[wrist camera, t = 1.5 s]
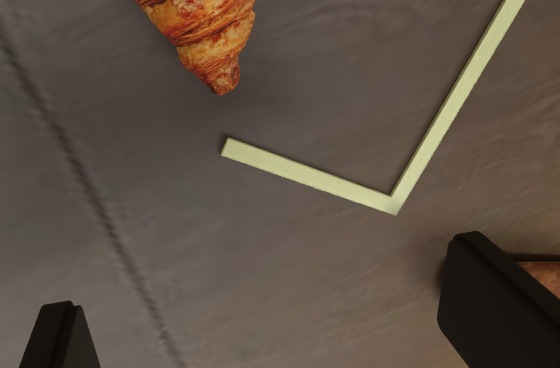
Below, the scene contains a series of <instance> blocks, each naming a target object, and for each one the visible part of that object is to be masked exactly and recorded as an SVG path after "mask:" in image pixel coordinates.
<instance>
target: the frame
mask: <svg viewBox="0 0 560 368" xmlns="http://www.w3.org/2000/svg"><path fill="white" fill-rule="evenodd" d="M524 1H525V0H503V1H502V3H501V4H500V6H499V8H498V9H497V11H496V13H495V15H494V16H493V18H492V20H491V22H490V23H489V25H488V27H487V28H486V30H485V32H484V34H483V35H482V37H481V39H480V40H479V42H478V44H477V46H476V47H475V49H474V51H473V52H472V54H471V56H470V58H469V59H468V61H467V63H466V64H465V66H464V68H463V70H462V71H461V73H460V75H459V77H458V78H457V80H456V82H455V83H454V85H453V87H452V89H451V90H450V92H449V94H448V95H447V97H446V99H445V101H444V102H443V104H442V106H441V107H440V109H439V111H438V113H437V114H436V116H435V118H434V119H433V121H432V123H431V125H430V126H429V128H428V130H427V132H426V133H425V135H424V137H423V138H422V140H421V142H420V144H419V145H418V147H417V149H416V150H415V152H414V154H413V156H412V157H411V159H410V161H409V162H408V164H407V166H406V168H405V169H404V171H403V173H402V174H401V176H400V178H399V180H398V181H397V183H396V185H395V187H394V188H393V190H392V192H391V193H390V195H387V194H384V193H382V192H379V191H376V190H373V189H371V188H368V187H365V186H362V185H360V184H357V183H354V182H351V181H349V180H346V179H343V178H340V177H338V176H335V175H332V174H329V173H327V172H324V171H321V170H318V169H316V168H313V167H310V166H307V165H305V164H302V163H299V162H296V161H294V160H291V159H288V158H285V157H283V156H280V155H277V154H274V153H272V152H269V151H266V150H263V149H261V148H258V147H255V146H252V145H250V144H247V143H244V142H241V141H239V140H236V139H233V138H230V137H227V140H226V142H225V144H224V147H223V149H222V151H221V155H222V156H225V157H228V158H230V159H233V160H236V161H239V162H242V163H245V164H248V165H251V166H254V167H256V168H259V169H262V170H265V171H268V172H271V173H274V174H277V175H280V176H283V177H285V178H288V179H291V180H294V181H297V182H300V183H303V184H306V185H309V186H311V187H314V188H317V189H320V190H323V191H326V192H329V193H332V194H335V195H338V196H340V197H343V198H346V199H349V200H352V201H355V202H358V203H361V204H364V205H366V206H369V207H372V208H375V209H378V210H381V211H384V212H387V213H390V214H393V215H395V216H396V215H397V213H398V212H399V210H400V208H401V207H402V205H403V203H404V202H405V200H406V198H407V197H408V195H409V193H410V191H411V190H412V188H413V186H414V185H415V183H416V181H417V180H418V178H419V176H420V175H421V173H422V171H423V170H424V168H425V166H426V165H427V163H428V161H429V160H430V158H431V156H432V155H433V153H434V151H435V150H436V148H437V146H438V145H439V143H440V141H441V140H442V138H443V136H444V135H445V133H446V131H447V130H448V128H449V126H450V125H451V123H452V121H453V120H454V118H455V116H456V114H457V113H458V111H459V109H460V108H461V106H462V104H463V103H464V101H465V99H466V98H467V96H468V94H469V93H470V91H471V89H472V88H473V86H474V84H475V83H476V81H477V79H478V78H479V76H480V74H481V73H482V71H483V69H484V68H485V66H486V64H487V63H488V61H489V59H490V58H491V56H492V54H493V53H494V51H495V49H496V48H497V46H498V44H499V43H500V41H501V39H502V38H503V36H504V34H505V32H506V31H507V29H508V27H509V26H510V24H511V22H512V21H513V19H514V17H515V16H516V14H517V12H518V11H519V9H520V7H521V6H522V4H523V2H524Z"/></svg>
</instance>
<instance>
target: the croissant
mask: <svg viewBox="0 0 560 368" xmlns="http://www.w3.org/2000/svg"><path fill="white" fill-rule="evenodd" d="M134 1H136V2H137V3H138V4H139V5H140V6H141V7H142V9H143V10H144V11H145V12H146V14H147V15H148V17H149V19H150V20H151V21H152V22H153V23H154V25H155V26H156V27H157V29H158V30H159V31H160V32H161V33H162V34H164V35H165V36H166V37H167V38H168V39H169V40H170V41H171V42H172V43H173V44H174V45H176V49H177V52H178V56H179V58H180V60H181V62H182V64H183V65H184V67H185V68H186V69H188V70H189V71H190V72H192V73H193V74H194V75H196V76H197V77H198V78H199V79H200V80H201V81H202V82H203V83H204V84H205V85H207V86H208V87H209V88H210V89H211V91H212V92H213V93H214V94H217V95H223V94H225V93H227V92H229V91H231V90H234V87H235V86H236V85H237V84H238V82H239V80H240V68H239V64H238V54H239V53H240V51H241V50H242V48H243V47H244V46H245V44H246V41H247V39H248V37H249V35H250V33H251V29H252V26H253V20H254V17H255V13H254V12H253V4H254V3H255V1H256V0H134Z"/></svg>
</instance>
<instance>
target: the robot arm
mask: <svg viewBox="0 0 560 368" xmlns="http://www.w3.org/2000/svg"><path fill="white" fill-rule="evenodd" d="M437 321H438V325H439V327H440V329H441V331H442V332H443V334H444V335H445V336H446V338H447V339H448V340H449V342H450V343H451V344H452V346H453V347H454V348H455V349H456V351H457V352H458V353H459V355H460V356H461V357H462V359H463V360H464V361H465V363H466V364H467V365H468V367H469V368H560V299H559V298H558V297H557V296H556V295H555V294H553V293H552V292H551V291H550V290H549V289H547V288H546V287H545V286H544V285H543V284H541V283H540V282H539V281H538V280H537V279H536V278H534V277H533V276H532V275H531V274H530V273H528V272H527V271H526V270H525V269H524V268H522V267H521V266H520V265H519V264H518V263H516V262H515V261H514V260H513V259H512V258H510V257H509V256H508V255H507V254H506V253H505V252H503V251H502V250H501V249H500V248H499V247H497V246H496V245H495V244H494V243H493V242H491V241H490V240H489V239H488V238H487V237H485V236H484V235H483V234H482V233H480V232H479V231H472V232H467V233H461V234H457V235H455V236H454V238H453V240H452V241H450V242H449V244H448V249H447V256H446V262H445V269H444V275H443V282H442V288H441V294H440V301H439V307H438V314H437ZM19 368H101V367H100V364H99V361H98V357H97V354H96V351H95V348H94V344H93V341H92V338H91V334H90V331H89V328H88V325H87V321H86V318H85V315H84V312H83V309H82V307H81V306H80V305H78V306H74V305H73V303H72V302H71V301H63V302H58V303H52V304H46V305H43V306H42V307H41V309H40V312H39V315H38V317H37V320H36V323H35V326H34V328H33V331H32V334H31V336H30V339H29V342H28V344H27V347H26V350H25V352H24V355H23V358H22V361H21V363H20V366H19Z"/></svg>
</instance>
